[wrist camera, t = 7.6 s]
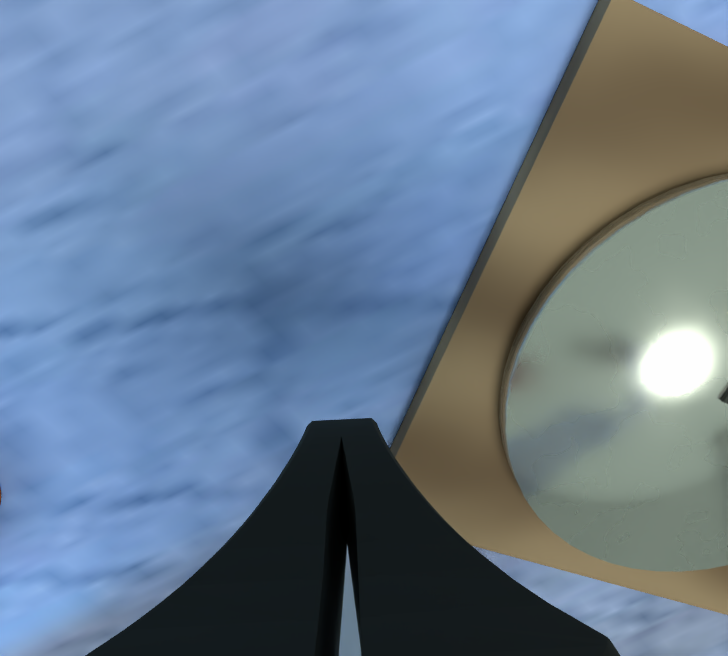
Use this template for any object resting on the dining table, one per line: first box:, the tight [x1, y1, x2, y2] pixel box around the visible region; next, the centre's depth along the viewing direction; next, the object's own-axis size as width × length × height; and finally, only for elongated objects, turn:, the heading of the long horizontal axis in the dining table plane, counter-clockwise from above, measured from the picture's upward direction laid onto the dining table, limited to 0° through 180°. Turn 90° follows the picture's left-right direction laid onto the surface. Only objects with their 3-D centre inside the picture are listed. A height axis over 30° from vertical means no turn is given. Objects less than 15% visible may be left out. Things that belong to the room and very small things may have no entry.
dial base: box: [390, 0, 728, 615], centre depth 21 cm, size 20×20×2 cm
